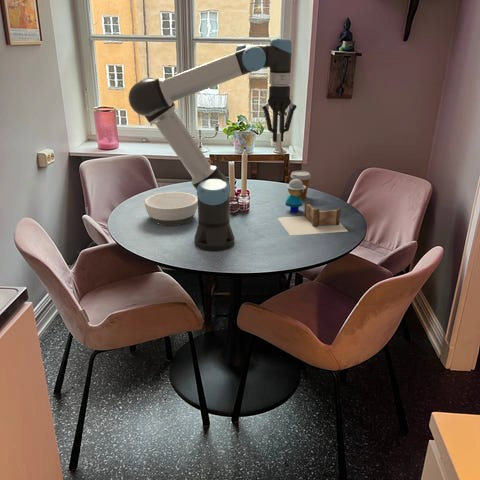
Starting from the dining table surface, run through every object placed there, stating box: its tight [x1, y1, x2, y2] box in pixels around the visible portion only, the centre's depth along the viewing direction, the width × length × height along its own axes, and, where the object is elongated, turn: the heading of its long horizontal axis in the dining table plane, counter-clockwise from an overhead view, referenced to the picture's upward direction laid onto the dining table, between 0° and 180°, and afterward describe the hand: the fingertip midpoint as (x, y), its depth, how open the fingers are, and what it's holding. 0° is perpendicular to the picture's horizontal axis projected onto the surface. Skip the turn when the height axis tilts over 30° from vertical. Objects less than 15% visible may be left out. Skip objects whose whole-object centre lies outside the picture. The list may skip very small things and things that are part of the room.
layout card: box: [277, 215, 348, 237], centre depth 200 cm, size 24×20×1 cm
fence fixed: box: [312, 207, 342, 227], centre depth 198 cm, size 12×2×7 cm, turn 101°
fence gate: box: [303, 200, 314, 223], centre depth 203 cm, size 10×2×6 cm, turn 13°
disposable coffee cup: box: [290, 170, 312, 200], centre depth 232 cm, size 10×10×12 cm
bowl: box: [144, 191, 198, 226], centre depth 206 cm, size 22×22×8 cm
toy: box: [285, 179, 306, 214], centre depth 213 cm, size 8×9×15 cm
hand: (277, 150), depth 183 cm, fingers closed
